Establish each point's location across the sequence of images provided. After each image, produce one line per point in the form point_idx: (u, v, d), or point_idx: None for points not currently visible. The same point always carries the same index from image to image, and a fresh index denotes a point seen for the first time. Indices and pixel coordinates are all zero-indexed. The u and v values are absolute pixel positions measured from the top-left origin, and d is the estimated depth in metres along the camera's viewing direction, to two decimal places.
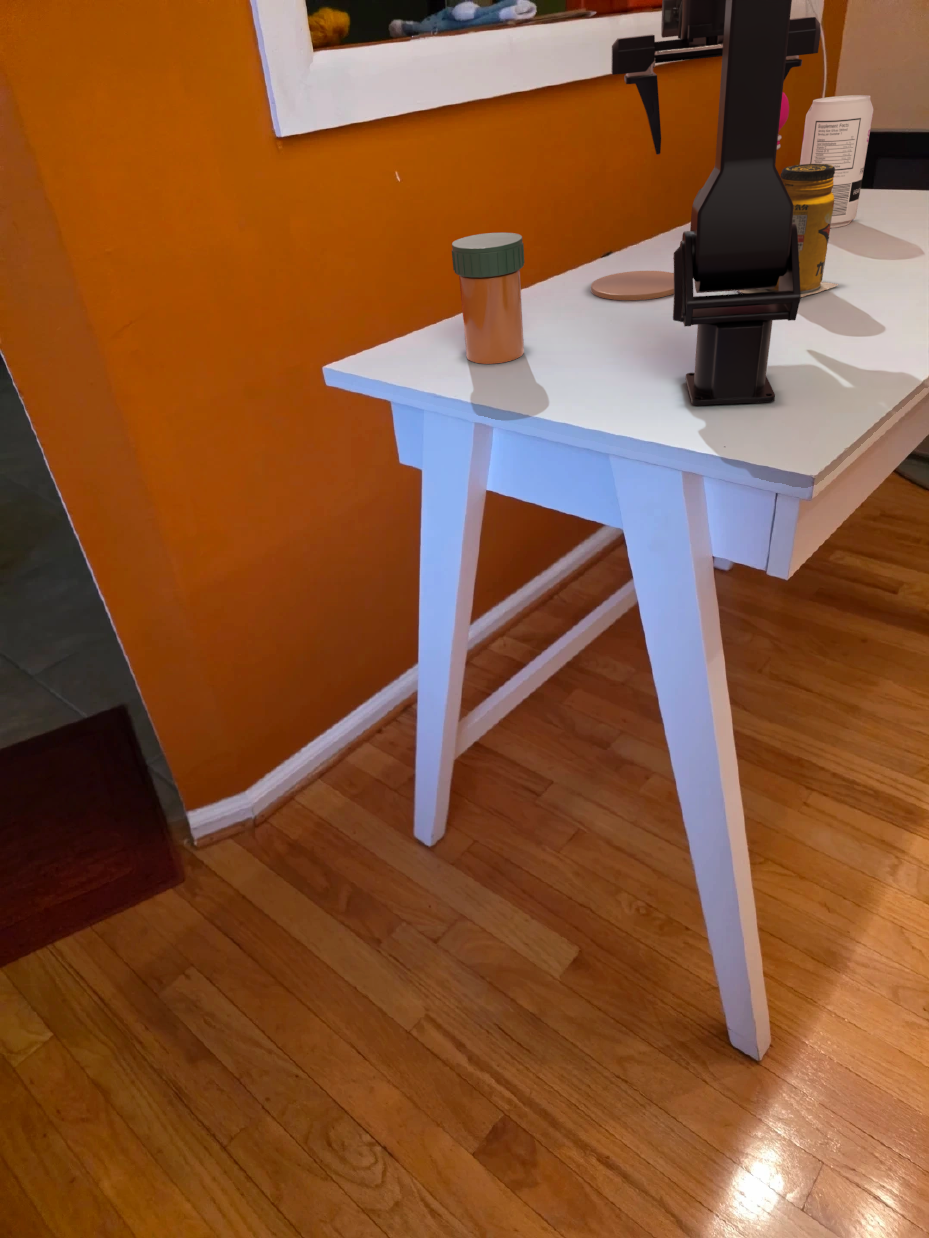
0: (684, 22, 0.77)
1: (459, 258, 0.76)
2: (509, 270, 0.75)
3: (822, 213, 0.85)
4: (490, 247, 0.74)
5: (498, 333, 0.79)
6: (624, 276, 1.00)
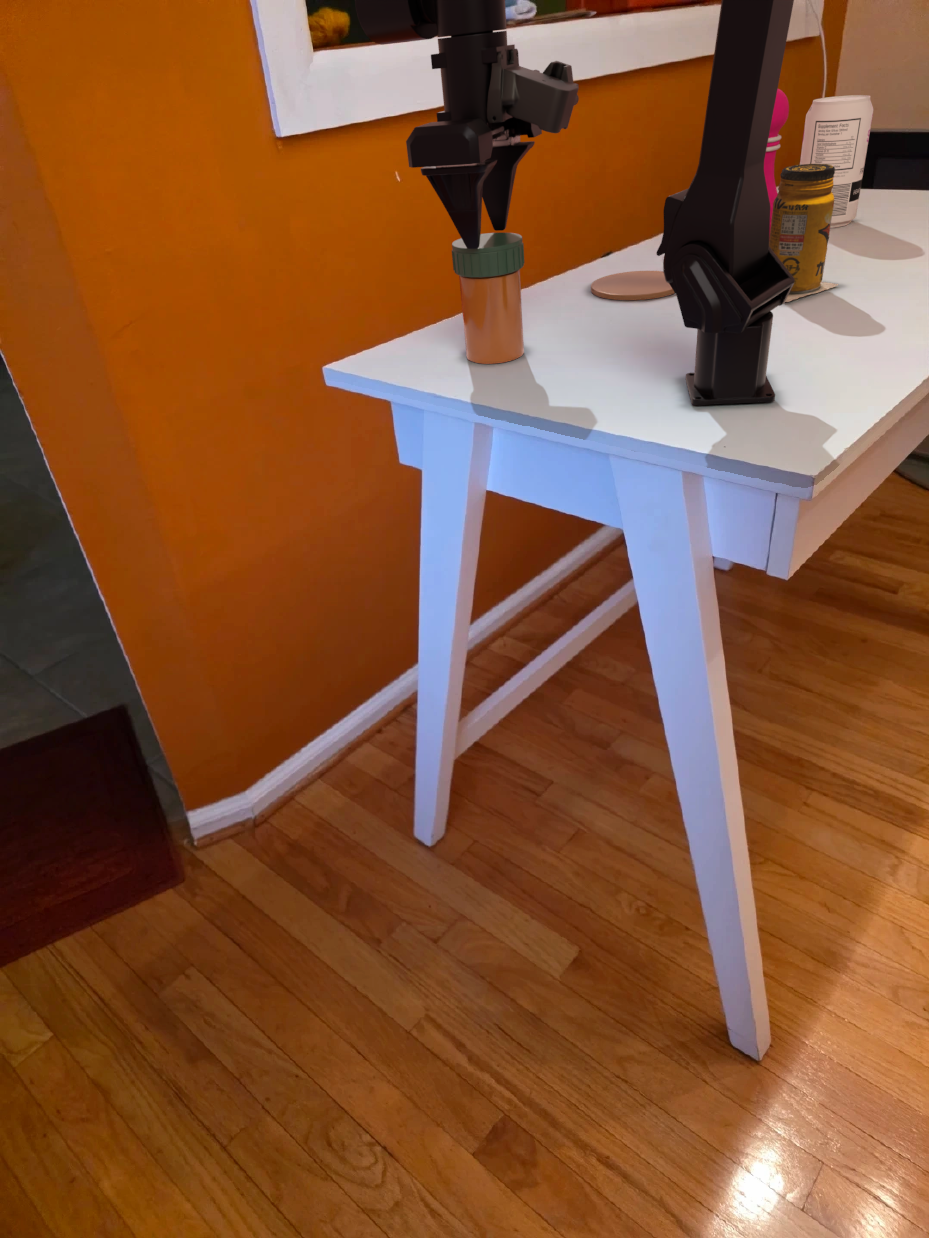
0: None
1: (459, 258, 0.76)
2: (509, 270, 0.75)
3: (822, 213, 0.85)
4: (490, 247, 0.74)
5: (498, 333, 0.79)
6: (624, 276, 1.00)
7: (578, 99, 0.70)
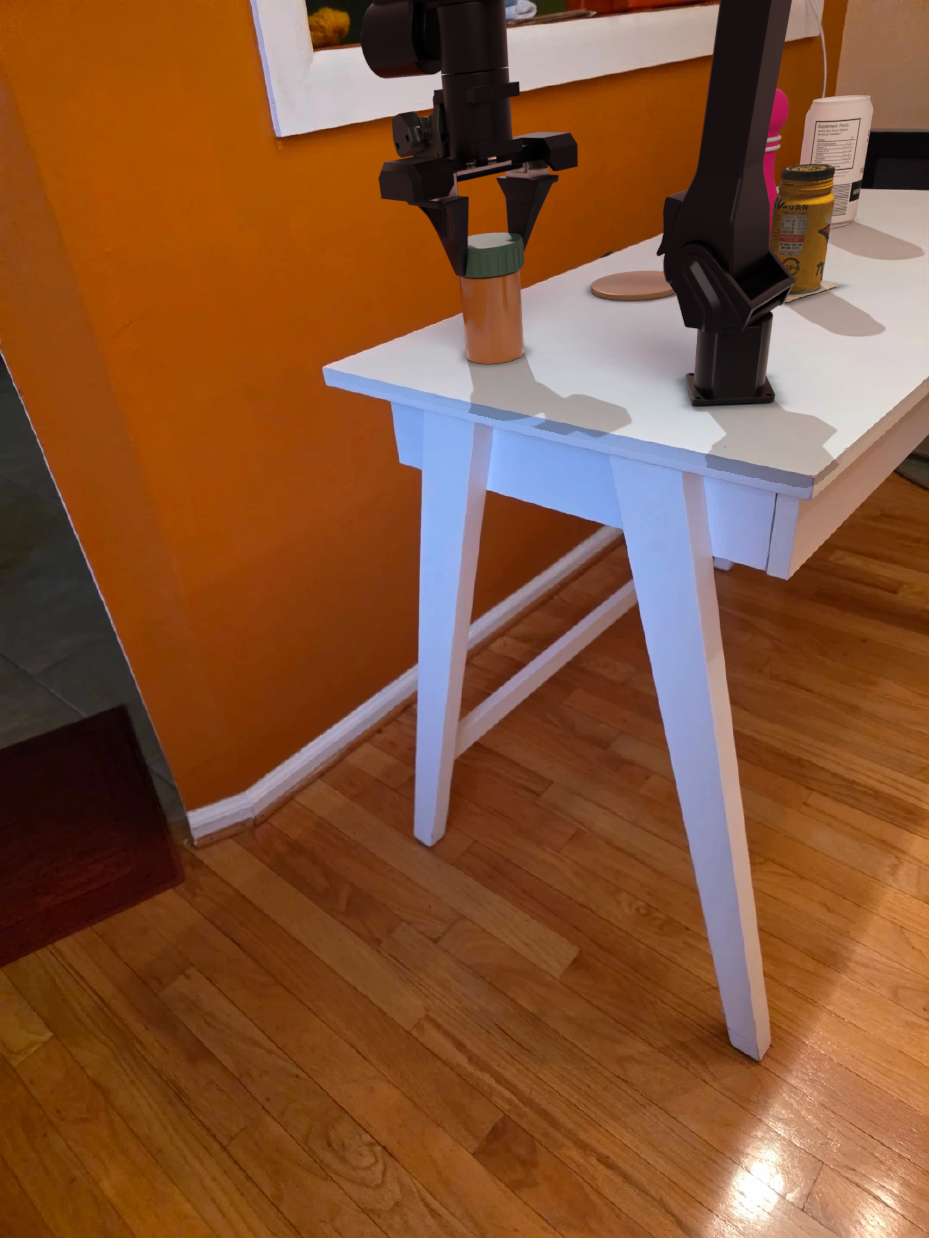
0: (462, 142, 0.70)
1: None
2: (509, 270, 0.75)
3: (822, 213, 0.85)
4: (490, 247, 0.74)
5: (498, 333, 0.79)
6: (624, 276, 1.00)
7: None
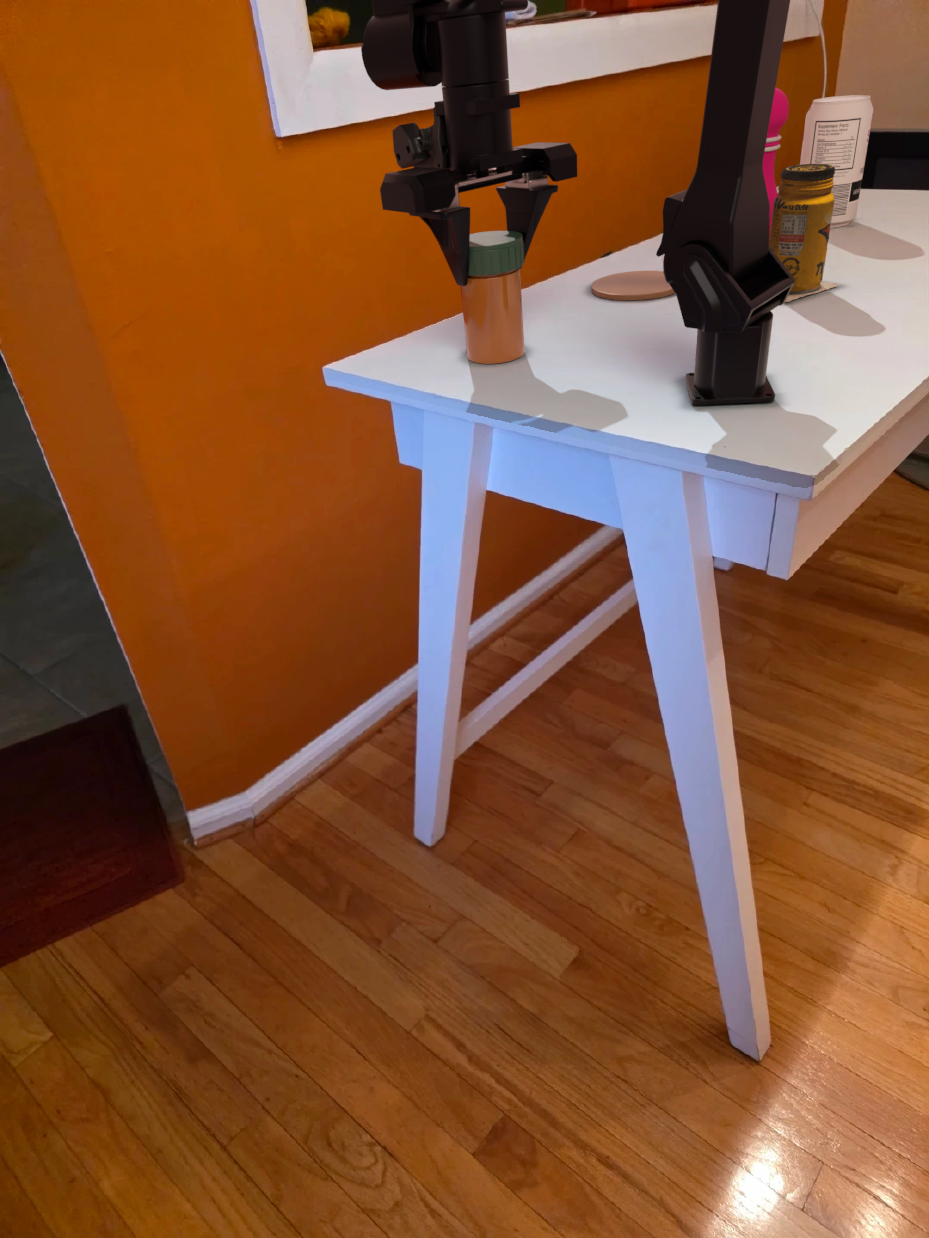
0: (463, 153, 0.70)
1: (486, 257, 0.74)
2: (523, 261, 0.77)
3: (822, 213, 0.85)
4: (515, 239, 0.75)
5: (499, 332, 0.79)
6: (624, 276, 1.00)
7: None
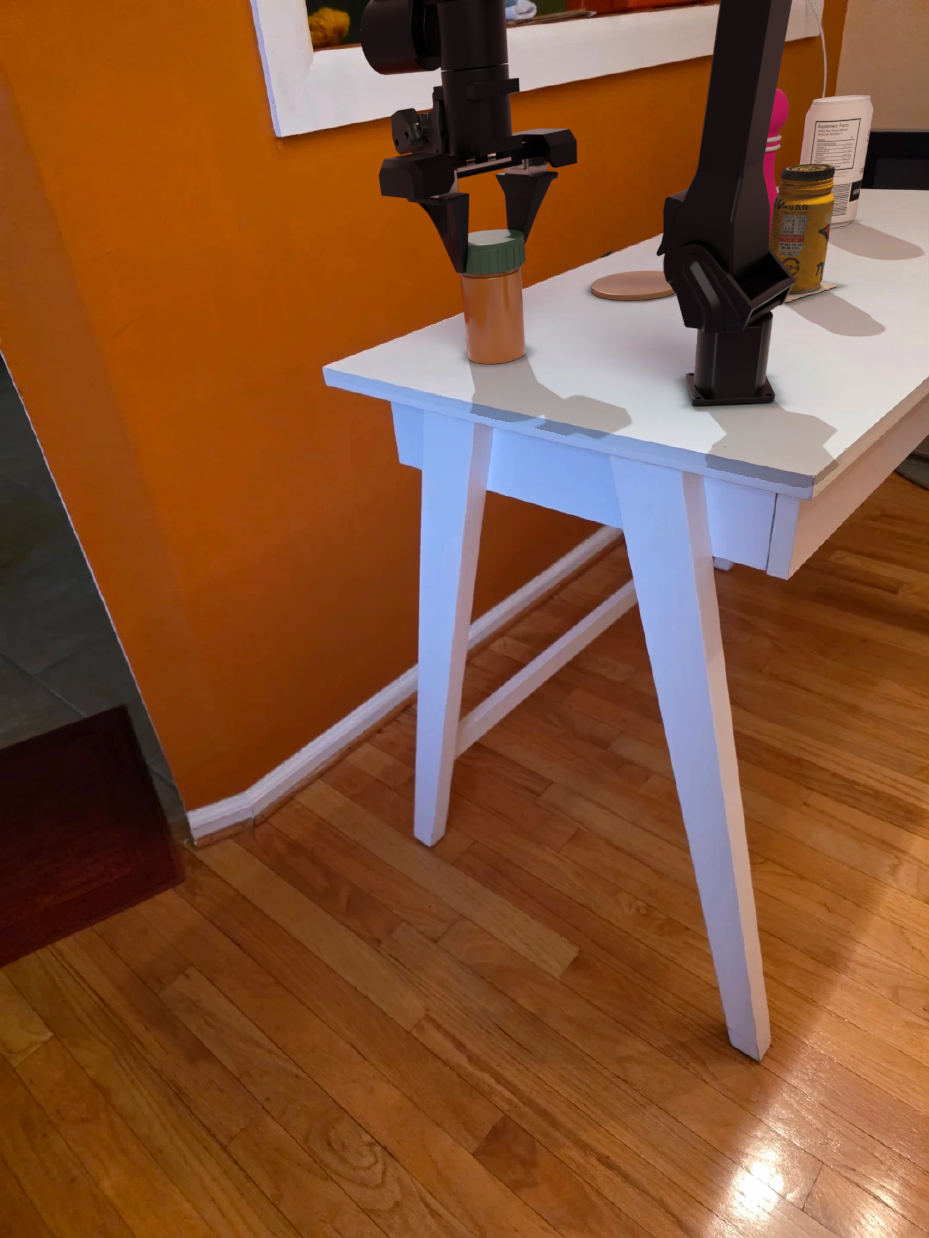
0: (462, 138, 0.70)
1: (516, 250, 0.75)
2: None
3: (822, 213, 0.85)
4: (519, 232, 0.77)
5: (504, 332, 0.79)
6: (624, 276, 1.00)
7: None
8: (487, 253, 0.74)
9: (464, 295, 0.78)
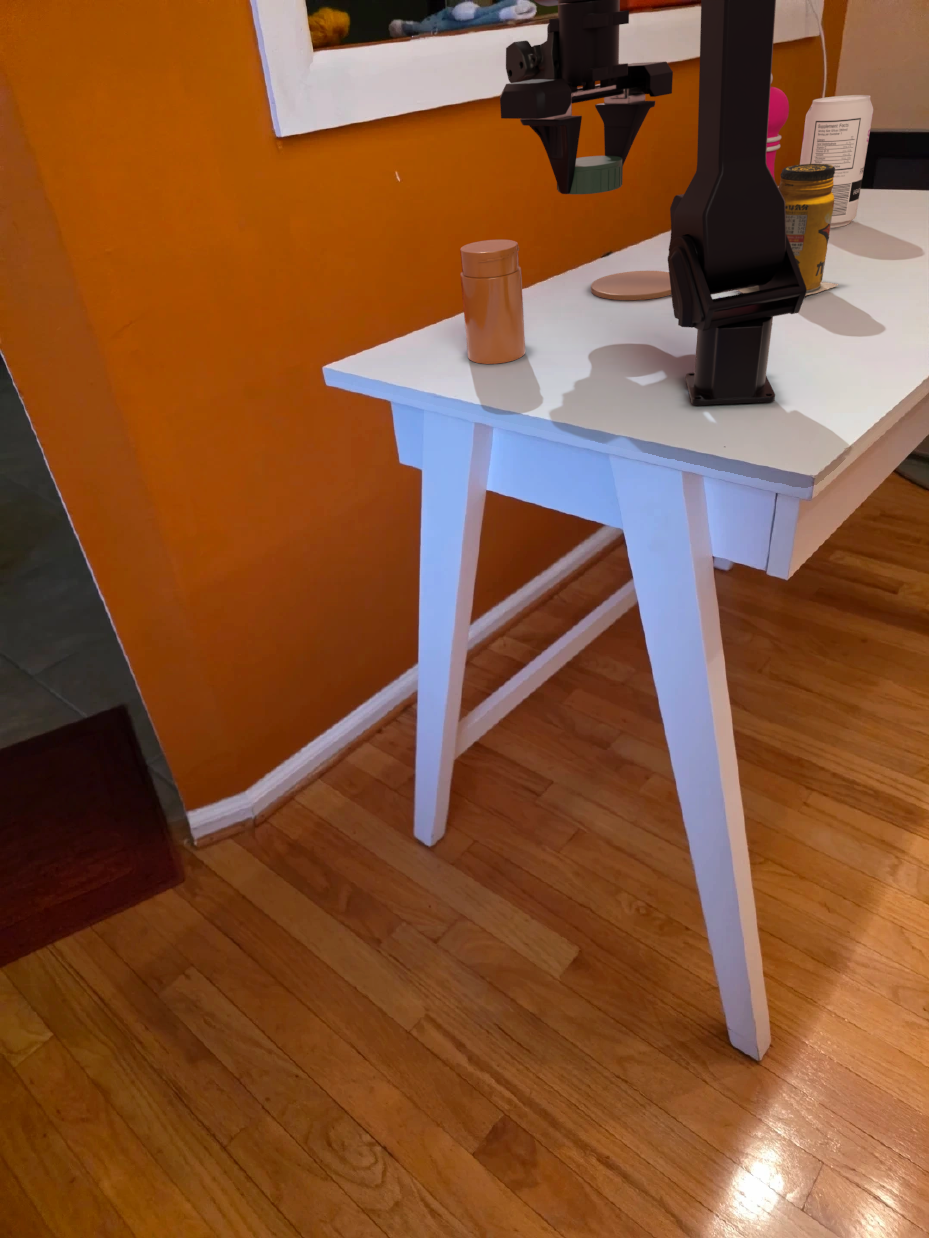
0: (576, 66, 0.77)
1: (617, 171, 0.83)
2: None
3: (822, 213, 0.85)
4: (617, 157, 0.85)
5: (504, 332, 0.79)
6: (624, 276, 1.00)
7: None
8: (591, 174, 0.82)
9: (464, 295, 0.78)
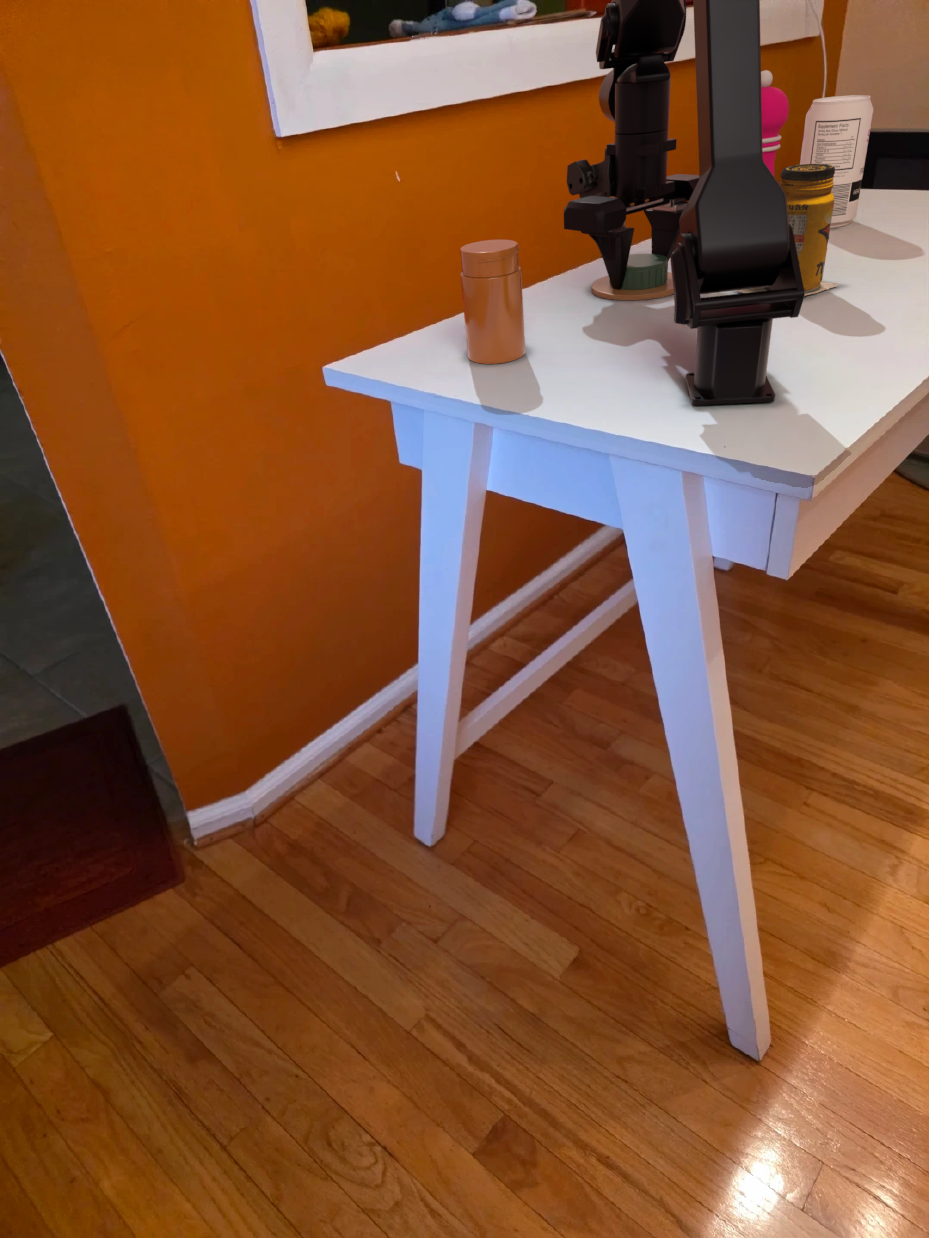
0: (630, 185, 0.89)
1: (663, 270, 0.95)
2: None
3: (822, 213, 0.85)
4: (662, 256, 0.97)
5: (504, 332, 0.79)
6: None
7: None
8: (641, 273, 0.94)
9: (464, 295, 0.78)
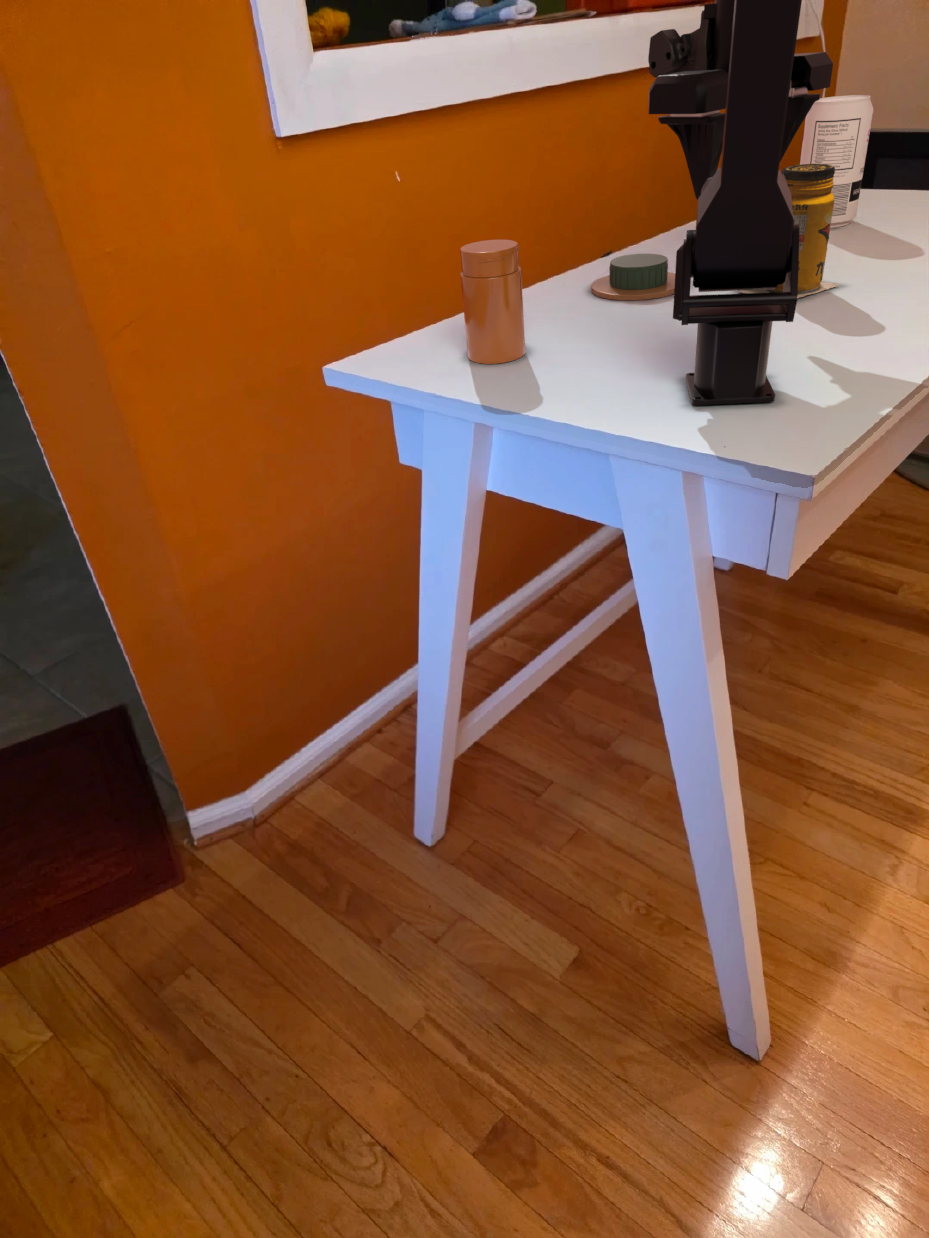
0: None
1: (663, 270, 0.95)
2: None
3: (822, 213, 0.85)
4: (662, 256, 0.97)
5: (504, 332, 0.79)
6: None
7: (649, 69, 0.76)
8: (641, 273, 0.94)
9: (464, 295, 0.78)
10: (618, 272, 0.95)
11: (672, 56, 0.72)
